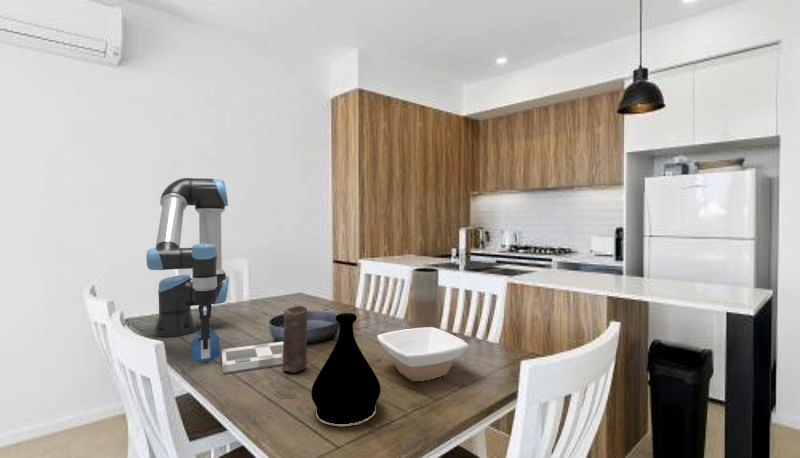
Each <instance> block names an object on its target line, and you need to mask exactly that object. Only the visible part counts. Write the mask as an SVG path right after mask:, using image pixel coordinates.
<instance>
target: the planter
mask: <svg viewBox="0 0 800 458" xmlns="http://www.w3.org/2000/svg"><path fill="white" fill-rule="evenodd" d="M439 272H440V271H439V269H437V268H432V267H419V268H414V269H413V311H412V313H413V317H412V318H413V323H412V324H413V328H424V327H433V328H437V329H439V274H440V273H439ZM413 328H412V329H413Z"/></svg>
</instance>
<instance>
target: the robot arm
mask: <svg viewBox="0 0 800 458" xmlns="http://www.w3.org/2000/svg"><path fill="white" fill-rule="evenodd" d="M228 200H229V199H228V195H227V187H226V183H225V181H224V180H223V179H219V178H197V177H195V178H192V177H183V178H179V179H177V180H175V181H173V182H172V183H170V184H169V185H167V186H166V187H165V189H164V190H163V192H162V193H161V195H160V200H159V203H160V207H161V212H160V213H161V214H160V219H159V225H158V231H157V237H156V243H155V247H154V248H149V249H148V250H147V252H146V259H145V260H146V266H147V268H148V270H150V271H166V270H167V271H168V270H189V269H191V270H192V277H191V275H190V274H182V275H181V274H179V275H174V276H170V277H166V278H163V279H161V280H160V281H159V282H158V291H157V293H158V317H157V320H156V323H155V327H154V333H153V335H154V336H155V337H159V338H174V337H179V336H185V335H188V334H192V333H193V332H195V331H196V328H197V327H196V322H195V319H194V317H193V315H192V309H191V307H193V306H195V307H197V306H198V312H199V320H200V324H201V325H200V327H201V331H200V333H201V338H199V340H201V359H205V358H210V336H209V322H210V319H212V315H211V313H212V305H218V304H224V303H226V301H227V298H228V297H227V296H228V289H229V282H230V276H229V275H228V276H227V274H226V273H227V272H226V271H225V270H224V269H223V268H222V267H223V265H222V264H223V263H222V261H223V259H222V258H223V257H222V214H223V213H224V212H225V210H226V209H225V208H226V207H228V206H229V201H228ZM188 206H194V209H195V212H197V213H198V223H199V225H198V226H199V227H198V228H199V229H198V230H199V234H198V235H199V238H198V239H199V243H194V244H193V245H192V247H181V238H182V228H183V220H184V219H183V218H184V210H186V209H187V207H188ZM212 329H213V327H212V326H211V330H210V331H212ZM203 335H205V336H203Z"/></svg>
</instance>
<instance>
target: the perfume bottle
mask: <svg viewBox="0 0 800 458" xmlns="http://www.w3.org/2000/svg"><path fill="white" fill-rule="evenodd" d="M211 327H212V326H211V322H210V321H209V336H210V358H205V359H201V340H199V338H201V323H200V327H199V330H200V332H198V333H196V334H195V336H194V338H193V339H192V341H191V361H195V362H196V361H197V362H208V363H209V362H210V361H212V360H214V359H215V358H217V357H219V356H220V355H221V354H220V351H221V350H220V337H219V336H218V334H217V333H216V332H215V331H212V330H211ZM203 336H205V335H203Z"/></svg>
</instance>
